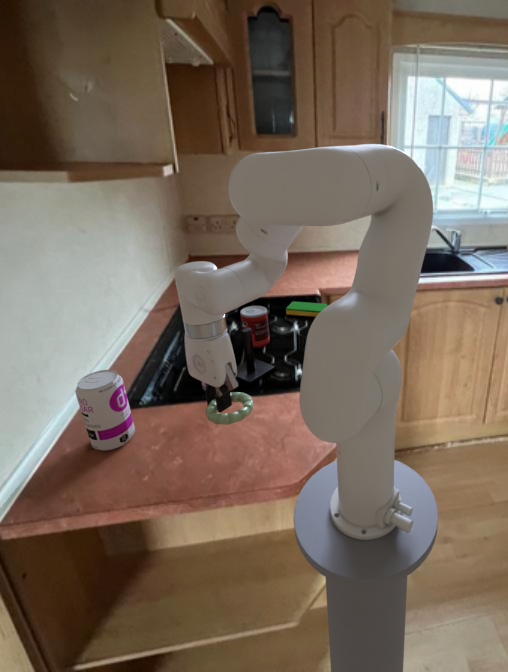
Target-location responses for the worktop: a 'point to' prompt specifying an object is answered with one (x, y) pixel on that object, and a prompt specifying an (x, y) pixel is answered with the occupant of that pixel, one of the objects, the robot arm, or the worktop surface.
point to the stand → (251, 363)
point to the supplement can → (105, 409)
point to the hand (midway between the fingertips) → (219, 405)
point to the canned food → (256, 324)
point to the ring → (234, 416)
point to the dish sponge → (305, 308)
